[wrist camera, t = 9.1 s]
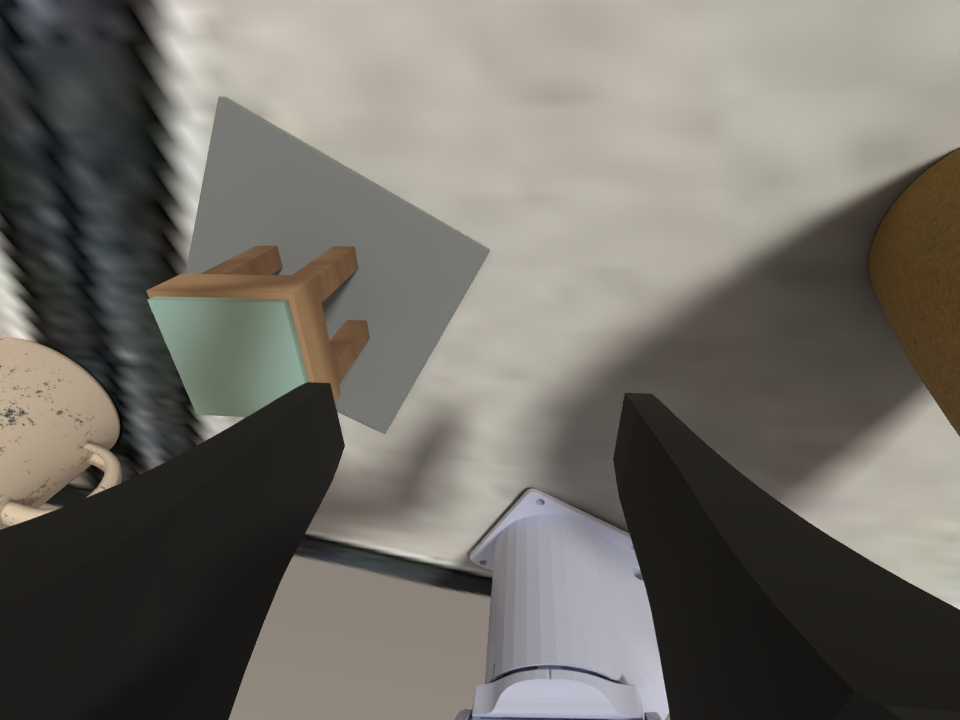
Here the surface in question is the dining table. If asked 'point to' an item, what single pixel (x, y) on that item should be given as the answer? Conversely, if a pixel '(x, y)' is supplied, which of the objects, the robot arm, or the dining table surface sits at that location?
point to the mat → (336, 222)
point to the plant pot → (925, 278)
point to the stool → (256, 329)
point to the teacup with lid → (49, 428)
